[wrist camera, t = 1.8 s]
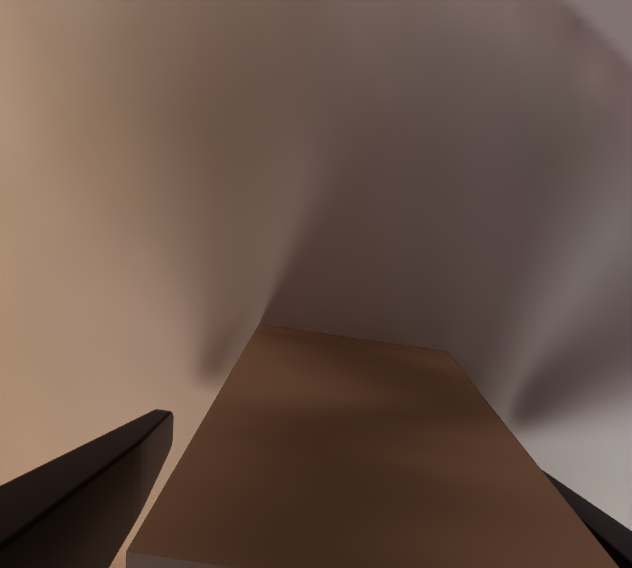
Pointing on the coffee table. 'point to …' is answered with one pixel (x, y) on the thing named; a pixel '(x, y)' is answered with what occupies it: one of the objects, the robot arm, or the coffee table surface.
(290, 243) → the coffee table surface
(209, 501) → the walnut block
